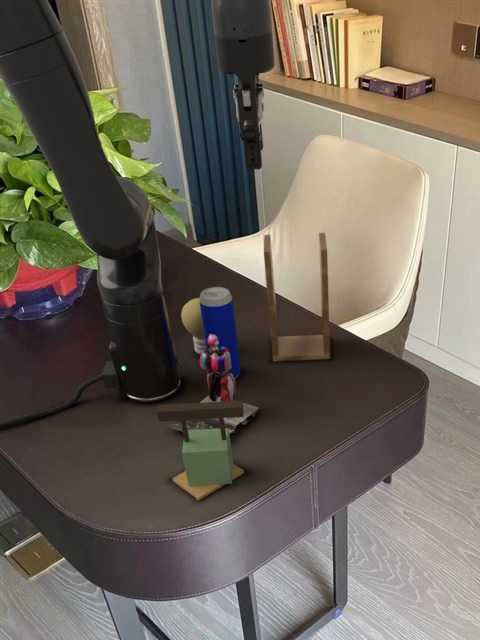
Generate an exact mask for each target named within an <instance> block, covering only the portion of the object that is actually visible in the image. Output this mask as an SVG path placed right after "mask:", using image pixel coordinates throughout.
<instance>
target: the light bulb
mask: <svg viewBox="0 0 480 640" xmlns="http://www.w3.org/2000/svg"><path fill="white" fill-rule="evenodd" d="M199 299H200V297H197V298H196V297H195V298H192V299H190V300H189V301H188V302H187V303H185V304H184V306H183V307H182V309H181V321H182V324H183V326H184V327H185V330H187V331H188V332H189V333H190V334H191V335H192V341H193V347H194V351H195V352H196V353H197V354H198V355H200V356H201V353H203V352H204V351H205V350H207V348H206V341H205V335H204V328H203V322H202V315H201V309H200V302H199Z"/></svg>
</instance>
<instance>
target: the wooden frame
mask: <svg viewBox="0 0 480 640" xmlns="http://www.w3.org/2000/svg"><path fill="white" fill-rule="evenodd" d="M271 237H272V236H271V234H264V235H263V259H264V268H265V269H264V271H265V282H266V293H267V294H266V295H267V306H268V319H269V329H270V340H271V342H270V343H271V352H272V353H271V354H272V361H273V362H292V361H314V360H330V359H331V337H330V336H331V335H330V333H331V332H330V305H329V304H330V302H329V301H330V299H329V266H328V265H329V263H328V262H329V261H328V245H327V238H326V237H327V236H326V232H319V233H318V241H319V242H318V245H319V246H318V248H319V250H318V251H319V273H320V274H319V275H320V304H321V306H320V307H321V331H322V332H321V334H312V335H311V334H310V335H309V334H308V335H287V336H279V329H278V328H279V327H278V313H277V302H276V288H275V287H276V286H275V275H274V274H275V273H274V265H273V264H274V263H273V251H272V238H271Z"/></svg>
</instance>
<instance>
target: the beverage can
mask: <svg viewBox="0 0 480 640" xmlns="http://www.w3.org/2000/svg"><path fill="white" fill-rule="evenodd" d="M199 298H200V299H199V302H200V309H201V315H202V322H203V328H204V335H205V341H206V348H207V352H208V350H209V348H211V347H210V346H209V344H208V337H209V334H213V335H215V336H217V338H218V346H217V347H218V348H220V349H221V348H222V347H225V348H226V349H228V350H229V353H230V358H231V369H230V370H228V371H227V372H229V373H231V374H232V375H233V377H234V379H235V380H236V379H237V378H238V377H239V376H240V374H241V372H242V368H241V360H240V350H239V344H238V343H239V342H238V335H237V326H236V318H235V310H234V302H233V300H234V299H233V296H232V294H231V291H230V290H229V289H228V288H226V287H222V286H212V287H207V288H205V289H203V290H202V291H201V292H200V294H199Z"/></svg>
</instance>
